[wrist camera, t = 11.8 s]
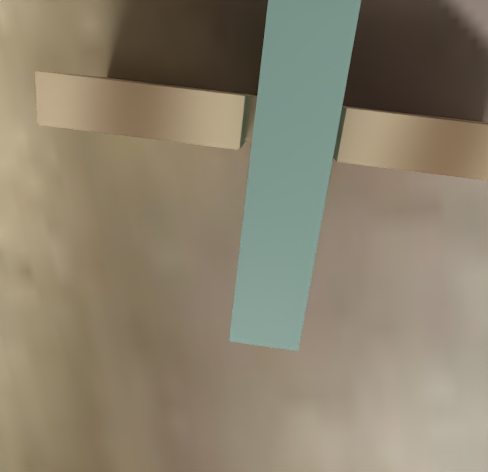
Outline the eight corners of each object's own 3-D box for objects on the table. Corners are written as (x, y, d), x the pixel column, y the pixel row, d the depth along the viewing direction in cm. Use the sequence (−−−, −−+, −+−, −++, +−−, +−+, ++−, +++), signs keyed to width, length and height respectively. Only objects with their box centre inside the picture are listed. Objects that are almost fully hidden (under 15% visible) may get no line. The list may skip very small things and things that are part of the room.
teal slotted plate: (250, 237, 25) (229, 341, 14) (283, -34, 20) (287, -166, 10) (290, 243, 25) (298, 351, 14) (333, -28, 20) (389, -157, 10)
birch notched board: (106, 115, 23) (37, 124, 17) (106, 77, 23) (34, 70, 16) (471, 160, 22) (551, 188, 16) (482, 122, 22) (570, 134, 15)
